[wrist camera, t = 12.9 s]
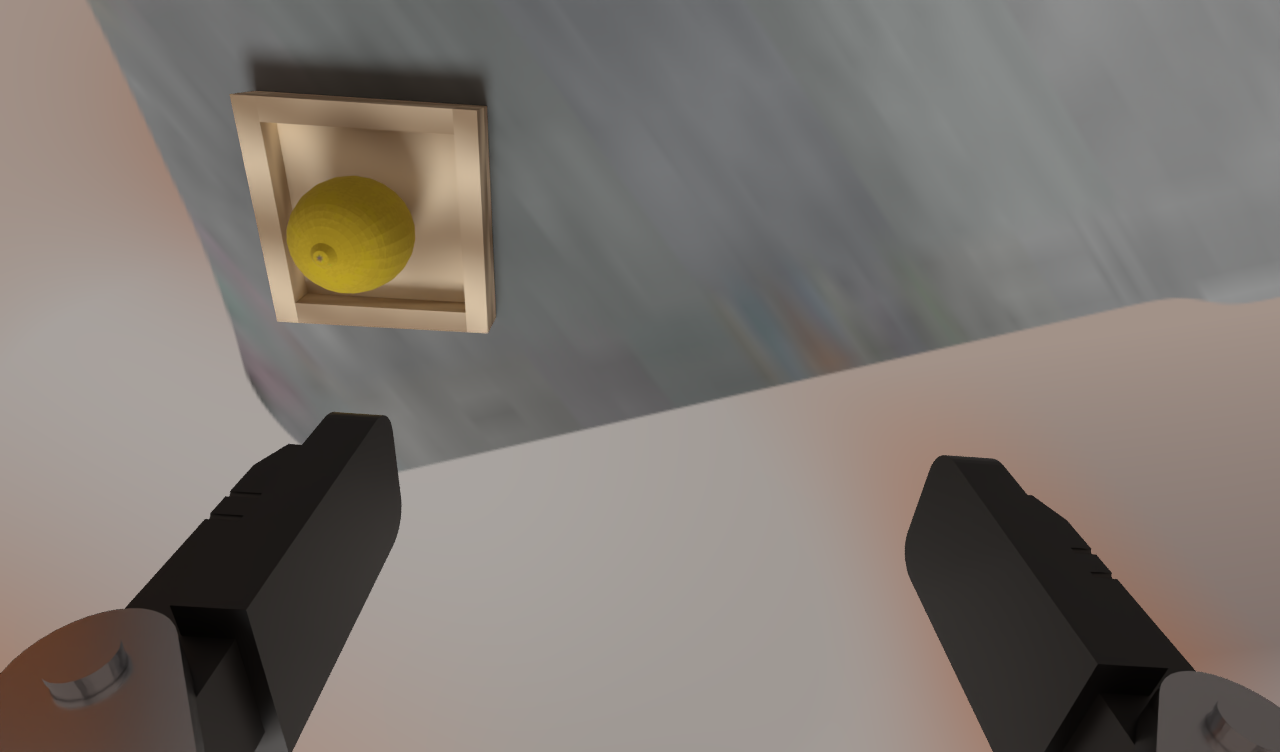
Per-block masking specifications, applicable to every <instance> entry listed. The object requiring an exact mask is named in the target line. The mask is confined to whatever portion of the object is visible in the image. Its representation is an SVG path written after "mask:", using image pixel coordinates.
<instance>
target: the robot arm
mask: <svg viewBox="0 0 1280 752" xmlns="http://www.w3.org/2000/svg"><path fill="white" fill-rule="evenodd" d="M400 519H401V495H400V486H399V478H398V470H397V462H396V454H395V445H394V437H393V430H392V425H391V422H390V420H389V418H388V417H387V416H384V415H369V414H355V413H340V412H332V413H329V414H328V415H327V416H326V417H325V418H324V419H323V420H322V421H321V423H320V424H319V425H318V426H317V427H316V429H315V430H314V431H313V432H312V434H311V435H310V436H309V437H308V438H307V440H306V441H305V442H304V443H303V444H302V445H295V444H288V445H286V446H284V447H283V448H281V449H279V450H278V451H276V452H275V453H273V454H271V455H270V456H268V457H266V458H265V459H263V460H261V461H260V462H258V463H256V464H255V465H253V466H252V468H251V469H250V470H249V471H248V472H247V473H246V474H245V475H244V476H243V478H242V479H241V480H240V481H239V482H238V483H237V484H236V485H235V487H234V488H233V489H232V490H231V491H230V496H229V497H226V496H225V498H224V499H223V500H222V501H221V502H220V503H219V504H218V505H217V507H216V508H215V509H214V510H213V511H212V512H211V514H210V519H205V520H204V521H203V522H202V523H201V524H200V525H199V526H198V528H197V529H196V530H195V531H194V532H193V533H192V534H191V535H190V537H189V538H188V539H187V540H186V541H185V542H184V543H183V545H181V547H180V548H179V549H178V550H177V551H176V552H175V553H174V554H173V555H172V557H171V558H170V559H169V560H168V561H167V562H166V563H165V565H163V567H162V568H161V569H160V570H159V571H158V572H157V573H156V574H155V575H154V577H153V578H152V579H151V580H150V581H149V582H148V583H147V585H145V587H144V588H143V589H142V590H141V591H140V592H139V593H138V594H137V595H136V597H135V598H134V599H133V600H132V601H131V602H130V603H129V604H128V606H127V607H126V608H125V609H116V610H111V611H106V612H102V613H98V614H95V615H91V616H88V617H85V618H83V619H80V620H77V621H74V622H72V623H70V624H68V625H65V626H63V627H61V628H59V629H57V630H55V631H53V632H52V633H50V634H49V635H47V636H45V637H43V638H42V639H40V640H38V641H37V642H36V643H34V644H33V645H31V646H30V647H28V648H27V649H26V650H24V651H23V652H22V653H21V654H20V655H18V656H17V657H16V658H15V659H14V660H13V661H12V662H11V663H10V664H9V665H8V666H7V667H6V668H5V669H4V670H3V671H2V672H1V673H0V752H292V751H293V749H294V747H295V745H296V743H297V741H298V739H299V737H300V734H301V732H302V730H303V728H304V726H305V724H306V722H307V720H308V718H309V716H310V714H311V712H312V710H313V708H314V706H315V704H316V702H317V700H318V698H319V696H320V694H321V691H322V690H323V687H324V685H325V683H326V681H327V679H328V677H329V675H330V673H331V671H332V669H333V667H334V665H335V663H336V661H337V659H338V657H339V655H340V653H341V651H342V649H343V647H344V645H345V642H346V640H347V638H348V636H349V634H350V632H351V630H352V628H353V626H354V624H355V622H356V620H357V618H358V616H359V614H360V612H361V610H362V608H363V606H364V604H365V602H366V599H367V598H368V596H369V593H370V591H371V589H372V587H373V585H374V583H375V581H376V579H377V577H378V575H379V573H380V571H381V569H382V567H383V565H384V563H385V561H386V559H387V557H388V555H389V553H390V551H391V549H392V547H393V544H394V542H395V539H396V537H397V533H398V529H399V525H400ZM905 561H906V566H907V571H908V575H909V577H910V579H911V582H912V584H913V586H914V588H915V590H916V592H917V594H918V596H919V598H920V600H921V602H922V605H923V607H924V609H925V611H926V613H927V615H928V617H929V619H930V621H931V623H932V625H933V627H934V630H935V632H936V634H937V636H938V638H939V640H940V642H941V644H942V646H943V648H944V650H945V653H946V655H947V657H948V659H949V661H950V663H951V665H952V667H953V669H954V671H955V673H956V675H957V677H958V680H959V682H960V684H961V686H962V688H963V690H964V692H965V694H966V696H967V698H968V701H969V703H970V705H971V706H972V708H973V711H974V713H975V715H976V717H977V719H978V721H979V723H980V725H981V728H982V730H983V732H984V734H985V736H986V738H987V740H988V742H989V744H990V746H991V748H992V751H993V752H1280V707H1278V706H1277V705H1275V704H1274V703H1273V702H1271V701H1269V700H1268V699H1266V698H1264V697H1263V696H1261V695H1259V694H1258V693H1256V692H1254V691H1252V690H1250V689H1248V688H1246V687H1244V686H1242V685H1240V684H1238V683H1235V682H1233V681H1230V680H1228V679H1225V678H1222V677H1219V676H1216V675H1212V674H1207V673H1203V672H1196V671H1195V670H1194V669H1193V667H1192V666H1191V665H1190V664H1189V663H1188V662H1187V660H1186V659H1185V658H1184V657H1183V656H1182V655H1181V653H1180V652H1179V651H1178V650H1177V649H1176V648H1175V646H1174V645H1173V644H1172V643H1171V642H1170V640H1169V639H1168V638H1167V637H1166V636H1165V635H1164V633H1163V632H1162V631H1161V630H1160V629H1159V628H1158V627H1157V625H1156V624H1155V623H1154V622H1153V621H1152V620H1151V618H1150V617H1149V616H1148V615H1147V614H1146V612H1145V611H1144V610H1143V609H1142V608H1141V607H1140V605H1139V604H1138V603H1137V602H1136V601H1135V600H1134V598H1133V597H1132V596H1131V595H1130V594H1129V593H1128V591H1127V590H1126V589H1125V588H1124V587H1123V586H1122V584H1121V583H1120V582H1119V581H1118V580H1117V579H1112V577H1111V574H1112V573H1111V571H1110V570H1109V569H1108V568H1107V567H1106V566H1105V565H1104V564H1103V562H1102V561H1101V560H1100V559H1099V557H1098V556H1097V555H1093V554H1091V548H1090V547H1089V546H1088V545H1087V543H1086V542H1085V541H1084V540H1083V539H1082V538H1081V536H1080V535H1079V534H1078V533H1077V532H1076V531H1075V529H1074V528H1073V527H1072V526H1071V525H1070V523H1069V522H1068V521H1067V520H1066V519H1064V518H1063V517H1061V516H1060V515H1059V514H1057V513H1056V512H1054V511H1053V510H1052V509H1050V508H1049V507H1047V506H1046V505H1045V504H1043V503H1042V502H1040V501H1039V500H1038V499H1036V498H1035V497H1034V496H1032V495H1027V494H1026V493H1025V491H1024V490H1023V489H1022V488H1021V487H1020V485H1019V484H1018V483H1017V482H1016V480H1015V479H1014V478H1013V477H1012V476H1011V474H1010V473H1009V472H1008V471H1007V469H1006V468H1005V467H1004V466H1003V465H1002V464H1001V463H1000V462H999V461H997V460H995V459H989V458H976V457H961V456H947V455H942V456H939V457H938V458H937V459H936V460H935V461H934V462H933V464H932V466H931V468H930V471H929V473H928V476H927V479H926V482H925V485H924V488H923V491H922V493H921V496H920V499H919V502H918V505H917V507H916V510H915V513H914V516H913V519H912V522H911V524H910V527H909V530H908V533H907V537H906V542H905Z"/></svg>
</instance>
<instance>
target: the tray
mask: <svg viewBox="0 0 1280 752" xmlns="http://www.w3.org/2000/svg"><path fill="white" fill-rule="evenodd" d="M230 98H231V103H232V107H233V112H234V117H235V122H236V127H237V131H238V136H239V141H240V146H241V150H242V155H243V160H244V165H245V169H246V174H247V179H248V184H249V189H250V193H251V198H252V203H253V208H254V212H255V217H256V222H257V227H258V231H259V236H260V241H261V246H262V251H263V255H264V260H265V265H266V270H267V274H268V279H269V284H270V289H271V293H272V298H273V303H274V308H275V313H276V317H277V322H295V323H313V324H331V325H349V326H367V327H385V328H402V329H420V330H438V331H456V332H474V333H488V332H489V330H490V328H491V326H492V324H493V322H494V320H495V318H496V306H495V283H494V260H493V236H492V213H491V190H490V166H489V143H488V120H487V106H478V105H463V104H447V103H432V102H417V101H402V100H387V99H372V98H357V97H342V96H327V95H312V94H296V93H281V92H266V91H250V92H243V93H235V94H230ZM342 176H360V177H366V178H371V179H373V180H376V181H378V182H380V183H383V184H384V185H386V186H387V187H389V188H390V189H391V190H393V191H394V192H396V193H397V194H398V196H399V197H400V198H401V199H402V200H403V201H404V202H405V204H406V206H407V208H408V209H409V211H410V213H411V216H412V219H413V222H414V225H415V243H414V248H413V252H412V255H411V257H410V259H409V260H408V262H407V264H406V266H405V267H404V269H403V270H402V271H401V272H400V273H399V274H398V275H397V276H396V277H395V278H394V279H392V280H391V281H390V282H388V283H386V284H384V285H382V286H380V287H378V288H376V289H374V290H370V291H365V292H360V293H354V294H353V293H338V292H334V291H330V290H327V289H325V288H323V287H321V286H319V285H317V284H315V283H313V282H312V281H311V280H310V279H308V278H307V277H306V276H304V275H303V273H302V272H301V271H300V270H299V269H298V267H297V266H296V265H295V263H294V261H293V259H292V257H291V255H290V252H289V249H288V245H287V231H286V230H287V225H288V221H289V218H290V215H291V212H292V211H293V209H294V208H295V206H296V204H297V203H298V201H299V200H300V198H301V197H302V196H303V195H304V194H305V193H307V192H308V191H309V190H311V189H312V188H313V187H314V186H316V185H317V184H319V183H322V182H324V181H327V180H329V179H332V178H335V177H342Z"/></svg>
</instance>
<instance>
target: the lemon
mask: <svg viewBox="0 0 1280 752" xmlns="http://www.w3.org/2000/svg"><path fill="white" fill-rule="evenodd" d="M286 231H287V245H288V249H289V252H290V255H291V257H292V259H293V261H294V263H295V265H296V266H297V267H298V269H299V270H300V271H301V272H302V273H303V275H304V276H306V277H307V278H308V279H310V280H311V281H312V282H313V283H315V284H317V285H319V286H321V287H323V288H325V289H327V290H330V291H334V292H338V293H353V294H354V293H360V292H365V291H370V290H374V289H376V288H378V287H380V286H382V285H384V284H386V283H388V282H390V281H391V280H392V279H394V278H395V277H396V276H397V275H398V274H399V273H400V272H401V271H402V270H403V269H404V267H405V266H406V264H407V262H408V260H409V259H410V257H411V255H412V252H413V248H414V243H415V225H414V222H413V219H412V216H411V213H410V211H409V209H408V208H407V206H406V204H405V202H404V201H403V200H402V199H401V198H400V197H399V196H398V194H397V193H396V192H394V191H393V190H391V189H390V188H389V187H387V186H386V185H384V184H383V183H380V182H378V181H376V180H373V179H371V178H366V177H360V176H342V177H335V178H332V179H329V180H327V181H324V182H322V183H319V184H317V185H316V186H314V187H313V188H312V189H311V190H309V191H308V192H307V193H305V194H304V195H303V196H302V197H301V198H300V200H299V201H298V203H297V204H296V206H295V208H294V209H293V211H292V212H291V215H290V218H289V221H288V225H287V230H286Z"/></svg>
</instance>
